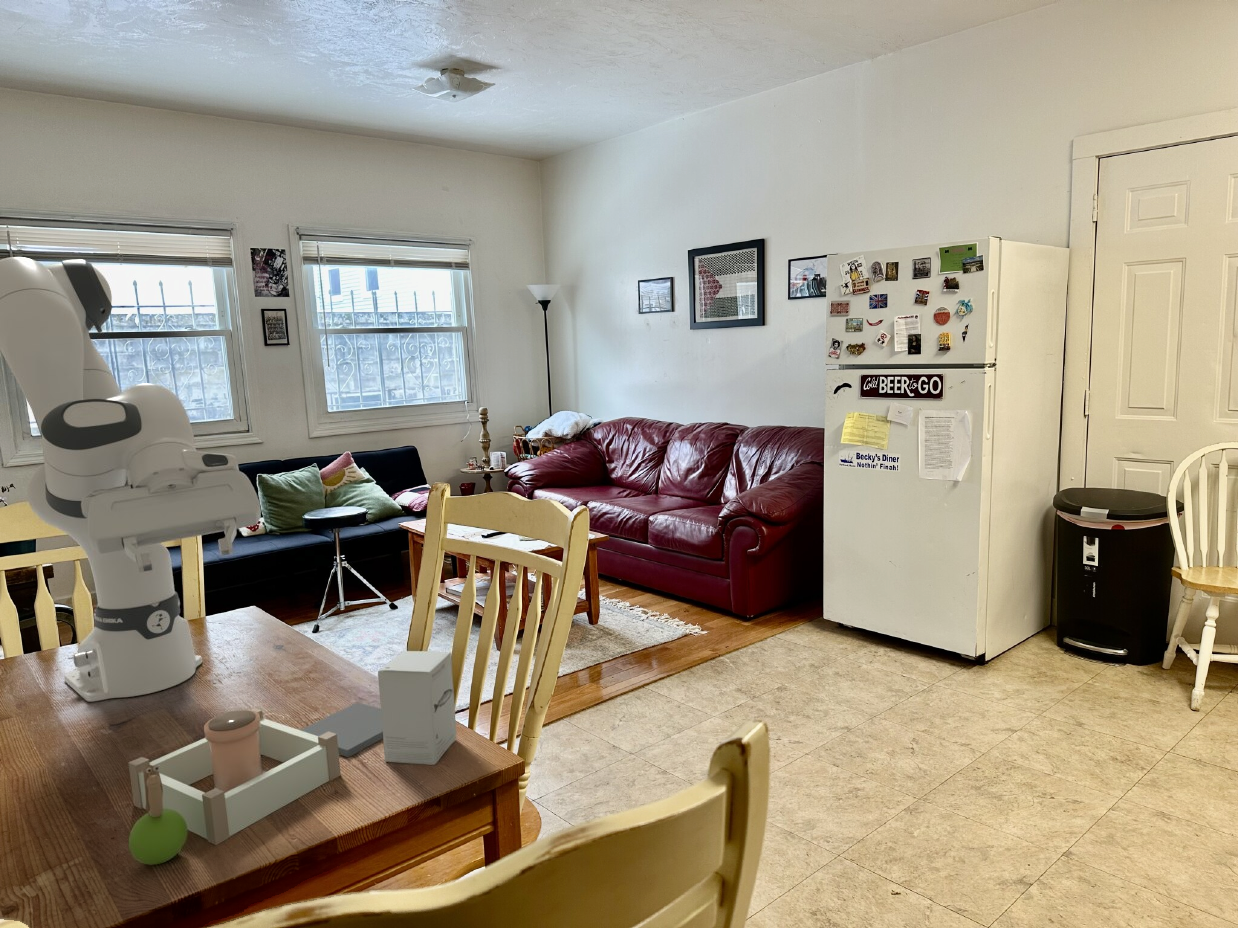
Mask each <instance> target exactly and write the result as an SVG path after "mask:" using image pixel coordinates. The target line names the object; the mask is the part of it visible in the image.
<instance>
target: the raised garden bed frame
mask: <svg viewBox="0 0 1238 928" xmlns="http://www.w3.org/2000/svg"><path fill="white" fill-rule="evenodd" d="M250 710H252V711H256V712H258V713H259V715H260V722H261V726H260V728H259V730H258V737H259V746H260V755H263V756H265V757H268V758H270V759H273V760H276V761H279V762H281V764H278V765H276V766H275V767H273V768H271V769H270V770H268V771H265V772H262V773H263V774H261V775H259V776H257V777H255V778H253V779H251V780H249V781H247V782H245V783H244V784H242V785H240V786H238V787H236V788H234V789H232V790H230V791H228V792H226V793H224V791H222V790H220V789H217V788H215V787H214V788H212V789H211V790H208V791H206V792H204V791H202V790H199V789H197V788H196V787H193V786H191V785H192V784H194V783H196V782H198V781H200V780H202V779H204V778H206V777H209V776H210V775H213V768H212V760H211V752H210V743H209V741H207V740H206V739H205V737H204V738H201V739H200V740H198V741H195V742H193V743H189V744H188V745H186V746H183V747H181V748H179V749H176V750H174V751H172V752H170V753H168V754H165V755H163V756H160V757H159V758H156V759H154V760H151V761H150V759H148V758H146V757H144V756H140V757H138V758H136V759H134V760H131V761H128V769H129V776H130V785H131V786H130V787H131V791H132V799H133V805H134V807H137V808H138V809H141V810H142V809H144V810H146V807H145V806H146V795H145V784H144V776H143V771H144V769H145V768H146V767H147V766H149V765H153V766H156V765H157V766H159V770H157V771H158V772H159V774H160V778H161V782H162V788H163V809H171V810H174V811H176V812H178V813H179V814H180V815H181V816H182V817H183V818H184V820H185V822H186V825H187V831H189V832H192V833H194V834H196V835H198V836H200V837H202V838H204V839H206V840H207V842H208V843H211V844H213V845H215V846H217V845H220V844H221V843H223V842H224V841H227V840H229V838H230V837H231V836H234V835H235V834H237V833H238V832H240V831H241V830H244V829H246V828H247V827H250V826H252V824H255V823H257V822H258V821H260V820H261V819H263V818H265V817H268V815H270V814H272V813H274V812H276V811H277V810H280V809H282V808H283V807H284V806H286V805H288V804H290V803H292V802H293V801H295V800H297V799H299V798H301V797H302V796H305V795H306V794H308V793H310V792H312V791H313V790H315V789H316V788H318V787H320V786H322V785H324V784H325V783H327V782H331V781H333V780H334V779H336V778H338V777H340V776H341V774H342V773H341V766H340V764H341V763H340V754H339V752H338V741H337V734H335V733H332V732H329V731H328V732H326V733H324V734H322V735H320V736H316V735H313V734H310V733H306V732H303V731H300V730H301V729H297V728H294V727H290V726H288V725H285V724H282V723H279V722H276V721H273V720H269V719H268V718H267V719H266V718H264V715H263V709H259V708H257V707H254V708H251V709H250Z"/></svg>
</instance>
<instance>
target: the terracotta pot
mask: <svg viewBox="0 0 1238 928" xmlns="http://www.w3.org/2000/svg"><path fill="white" fill-rule="evenodd" d="M260 726H261V722H260V715H259V713H258V712H256V711H252V710H251V709H248V710H247V709H241V710H240V709H239V710H234V711H229V712H225V713H221V714H219V715H217V716H215V717H213V718H211V719H209V720H208V721H207V722H205V724H204V725H203V731H204V738H205V739H206V740H207V741H209V743H210V752H211V760H212V768H213V774H212V775H213V783H214V788H217V789H220V790H222V791H224V793H226V792H228V791H230V790H232V789H234V788H236V787H238V786H240V785H242V784H244V783H245V782H247V781H249V780H251V779H253V778H255V777H257V776H259V775H261V774H263V773H264V772H263V767H262V766H263V764H262V757H261V755H262V754H260V746H259V737H258V730H259V728H260Z"/></svg>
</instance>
